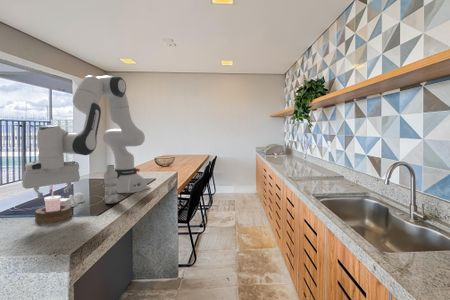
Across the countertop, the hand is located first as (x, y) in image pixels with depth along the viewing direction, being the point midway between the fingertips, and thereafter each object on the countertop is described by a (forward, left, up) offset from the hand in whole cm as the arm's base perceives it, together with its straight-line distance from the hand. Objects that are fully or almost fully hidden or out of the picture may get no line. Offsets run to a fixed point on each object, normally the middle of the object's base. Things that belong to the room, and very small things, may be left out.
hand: (53, 194), depth 105 cm
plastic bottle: (-26, -3, -10) cm, 28 cm away
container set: (-10, -14, -10) cm, 20 cm away
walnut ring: (0, 0, -10) cm, 10 cm away
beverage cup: (+1, 0, -10) cm, 10 cm away
